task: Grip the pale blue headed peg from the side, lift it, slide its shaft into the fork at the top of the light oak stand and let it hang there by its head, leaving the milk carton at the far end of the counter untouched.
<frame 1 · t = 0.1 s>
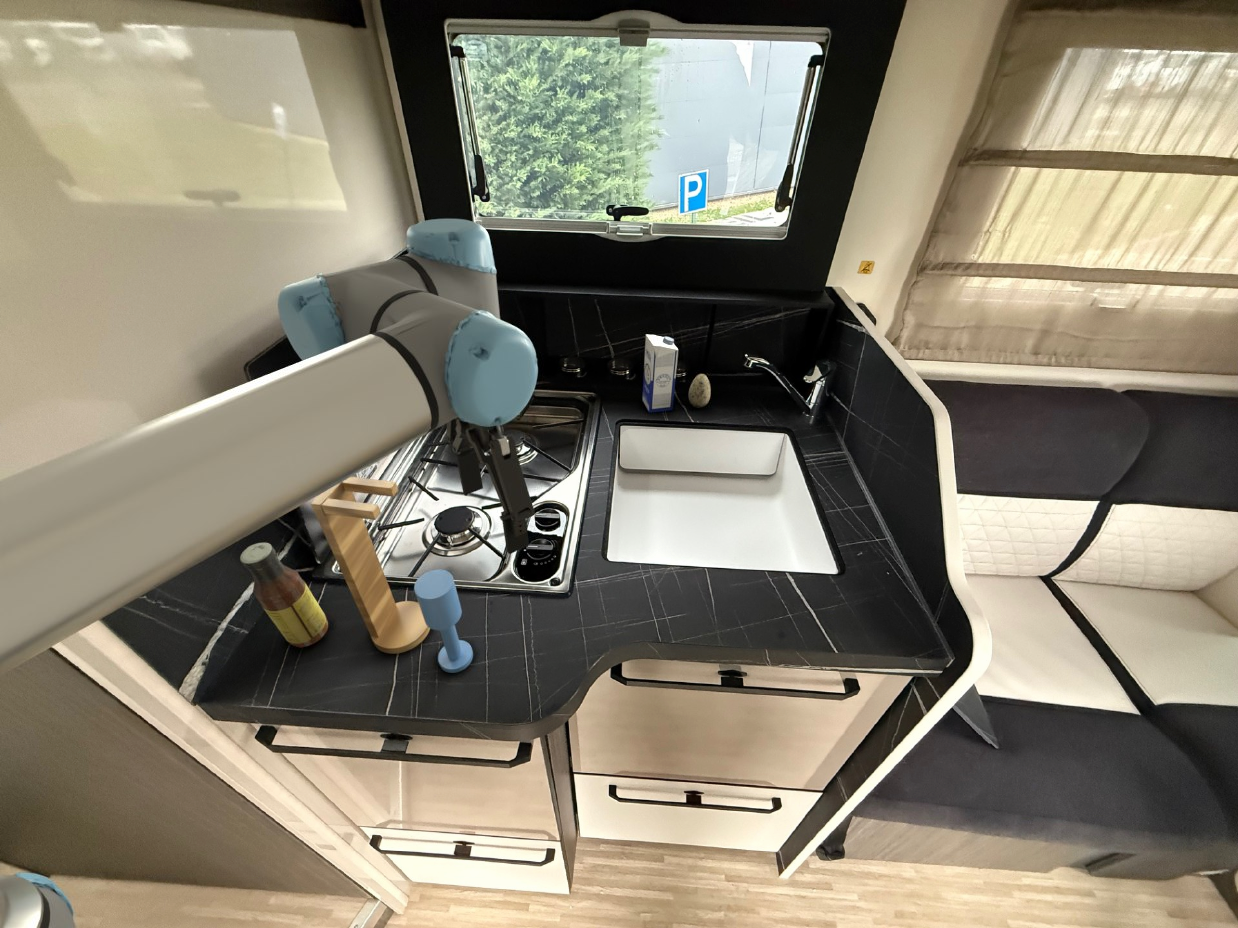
hand: (494, 517, 70), 27 cm above the worktop, tool pointing down, fingers open, 13 cm apart
decorative egg: (697, 407, 145), on the worktop
milk carton: (657, 405, 146), on the worktop
stand: (407, 629, 86), on the worktop
sauce bottle: (308, 634, 86), on the worktop
peg: (456, 657, 82), on the worktop
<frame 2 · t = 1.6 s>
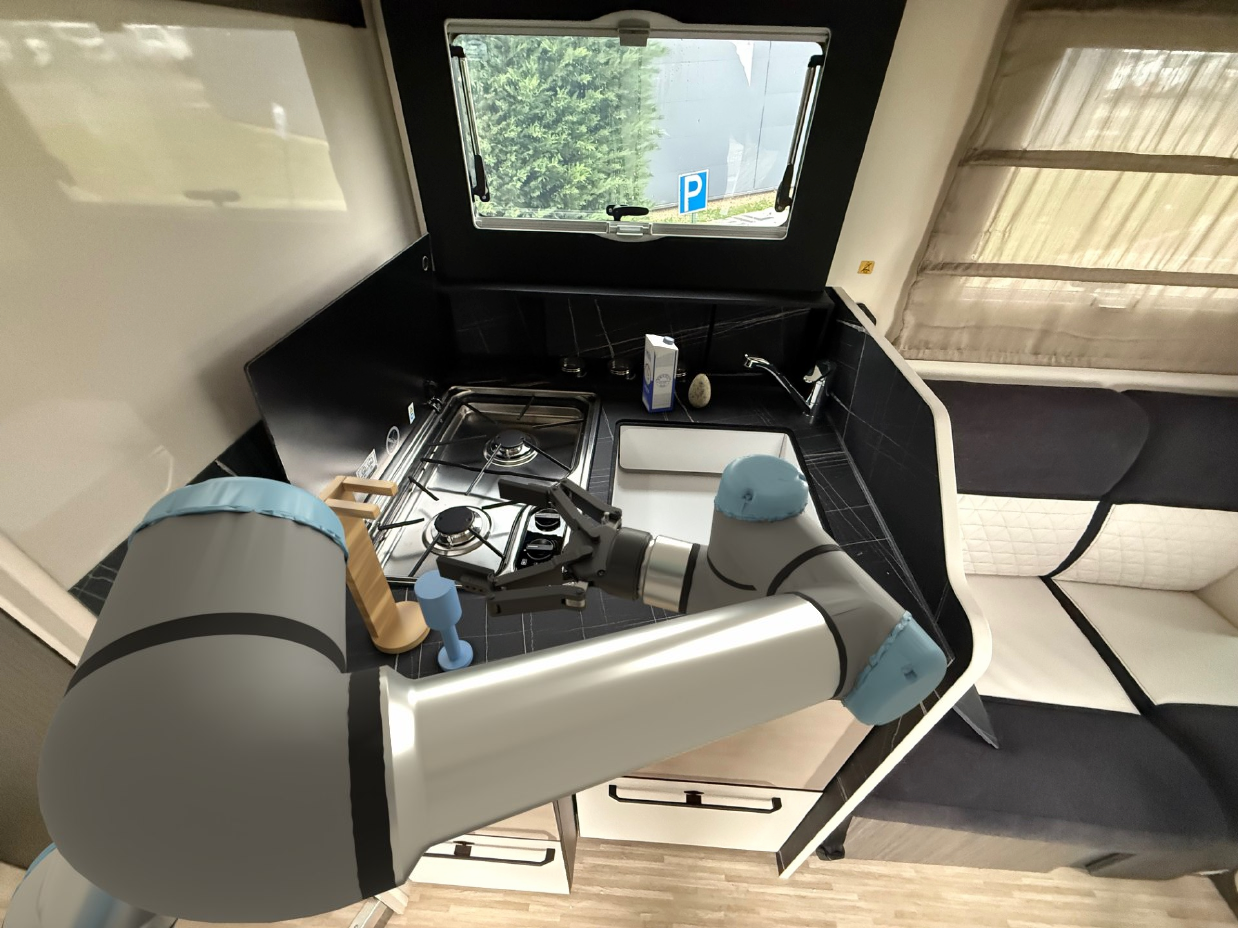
hand: (472, 523, 61), 32 cm above the worktop, tool horizontal, fingers open, 13 cm apart
nothing on the worktop moved.
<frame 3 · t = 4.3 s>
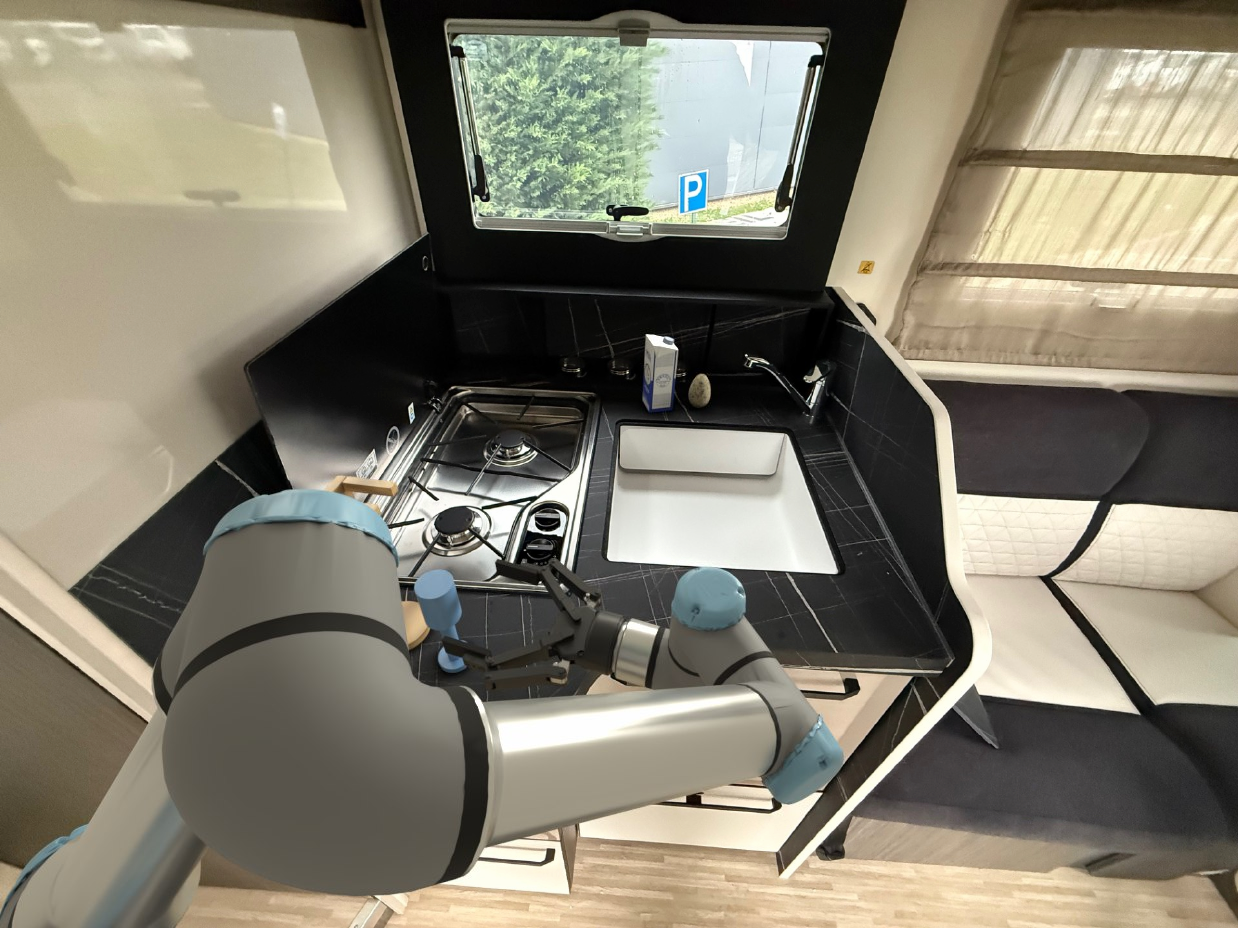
hand: (472, 602, 71), 16 cm above the worktop, tool horizontal, fingers open, 13 cm apart
nothing on the worktop moved.
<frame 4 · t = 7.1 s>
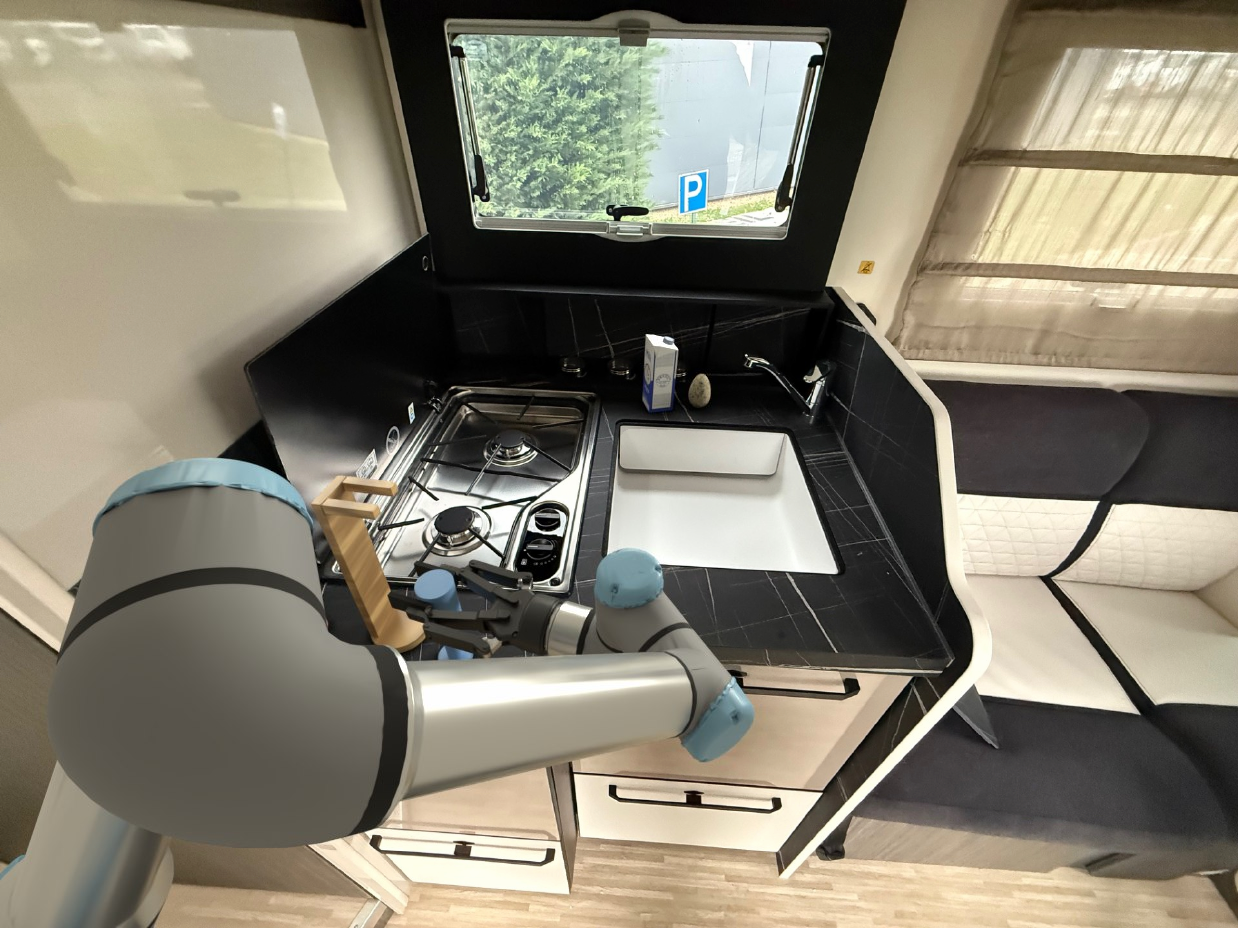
hand: (404, 583, 74), 16 cm above the worktop, tool horizontal, fingers closed on peg, 5 cm apart
peg: (456, 657, 82), on the worktop, touching gripper
everything else where it was.
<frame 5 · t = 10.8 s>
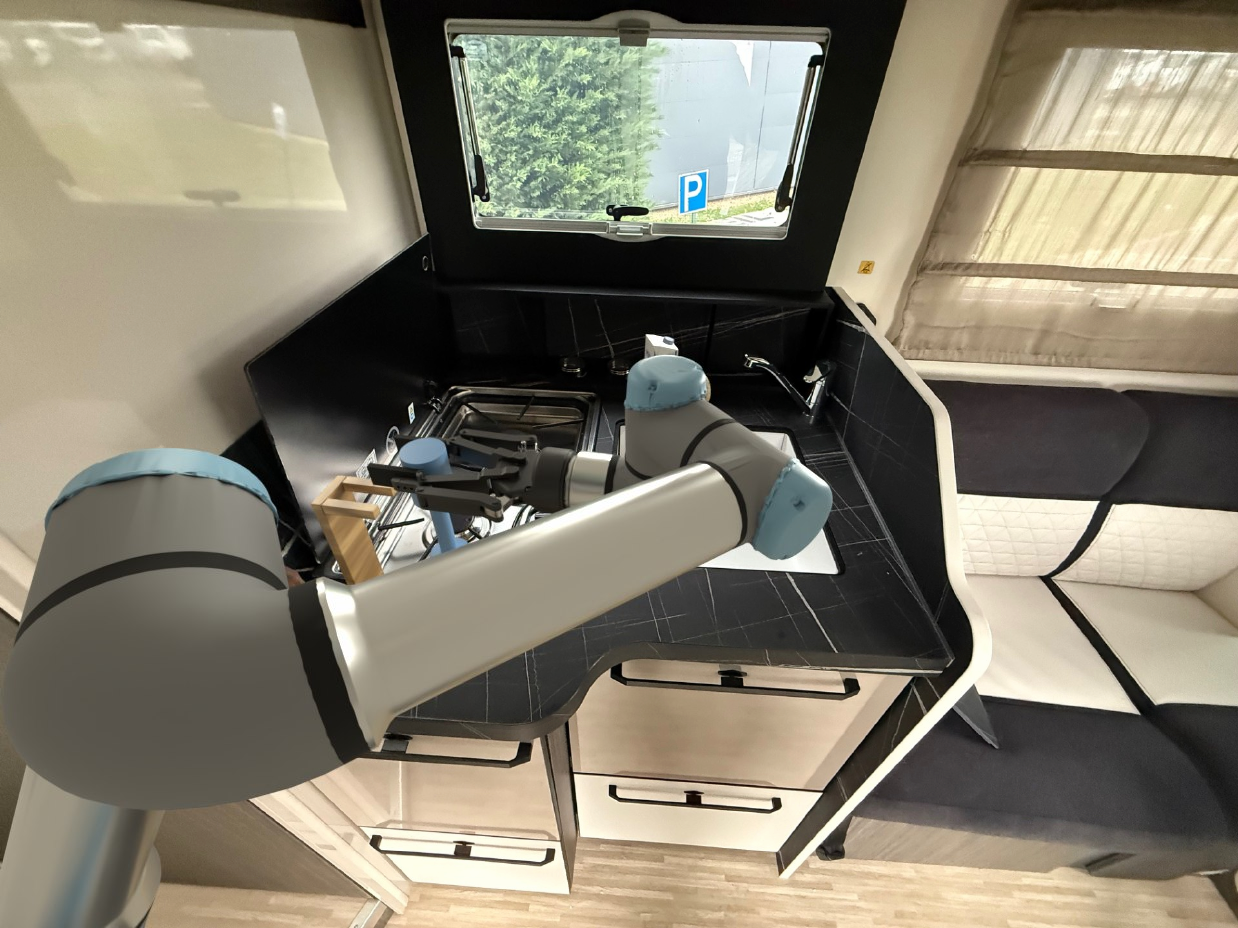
hand: (385, 458, 62), 37 cm above the worktop, tool horizontal, fingers closed on peg, 5 cm apart
peg: (451, 555, 71), point 21 cm above the worktop, touching gripper
everything else where it was.
when the fingers open (35 cm above the worktop, at t = 14.8 s): peg stays where it is, resting on stand.
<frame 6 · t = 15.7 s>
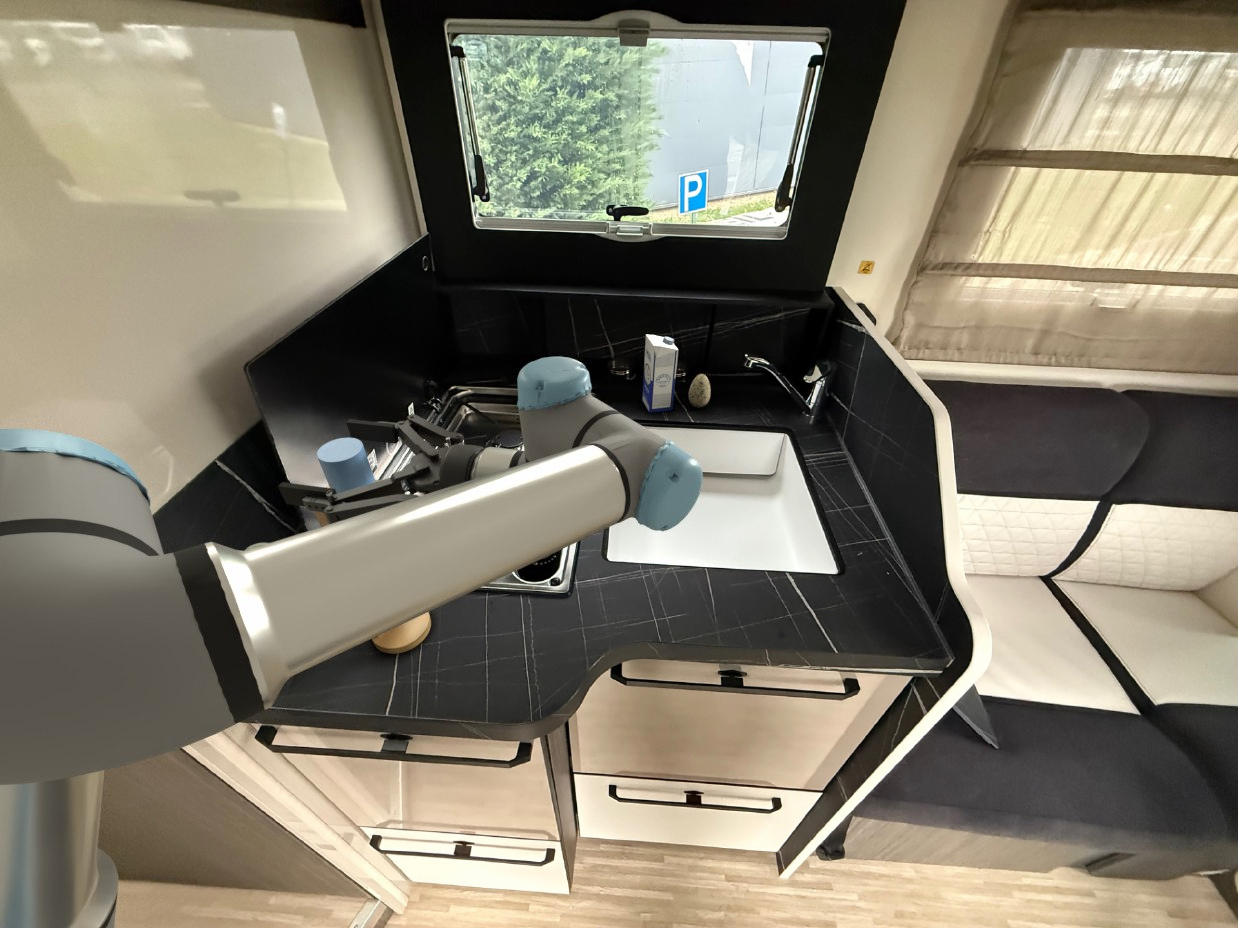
hand: (319, 458, 65), 35 cm above the worktop, tool horizontal, fingers open, 13 cm apart
peg: (378, 550, 75), point 19 cm above the worktop, touching stand
everything else where it was.
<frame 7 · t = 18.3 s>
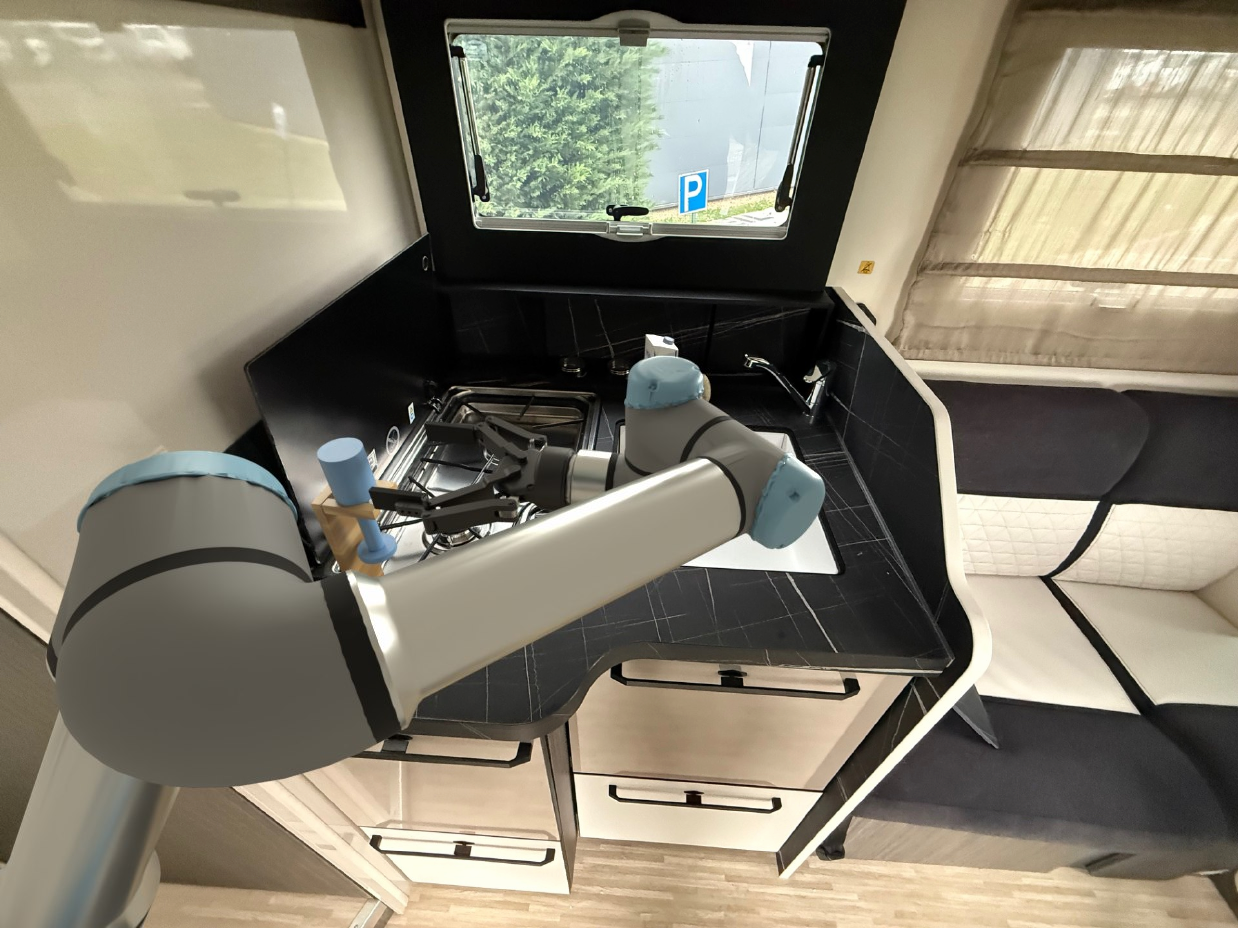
hand: (402, 461, 63), 36 cm above the worktop, tool horizontal, fingers open, 13 cm apart
nothing on the worktop moved.
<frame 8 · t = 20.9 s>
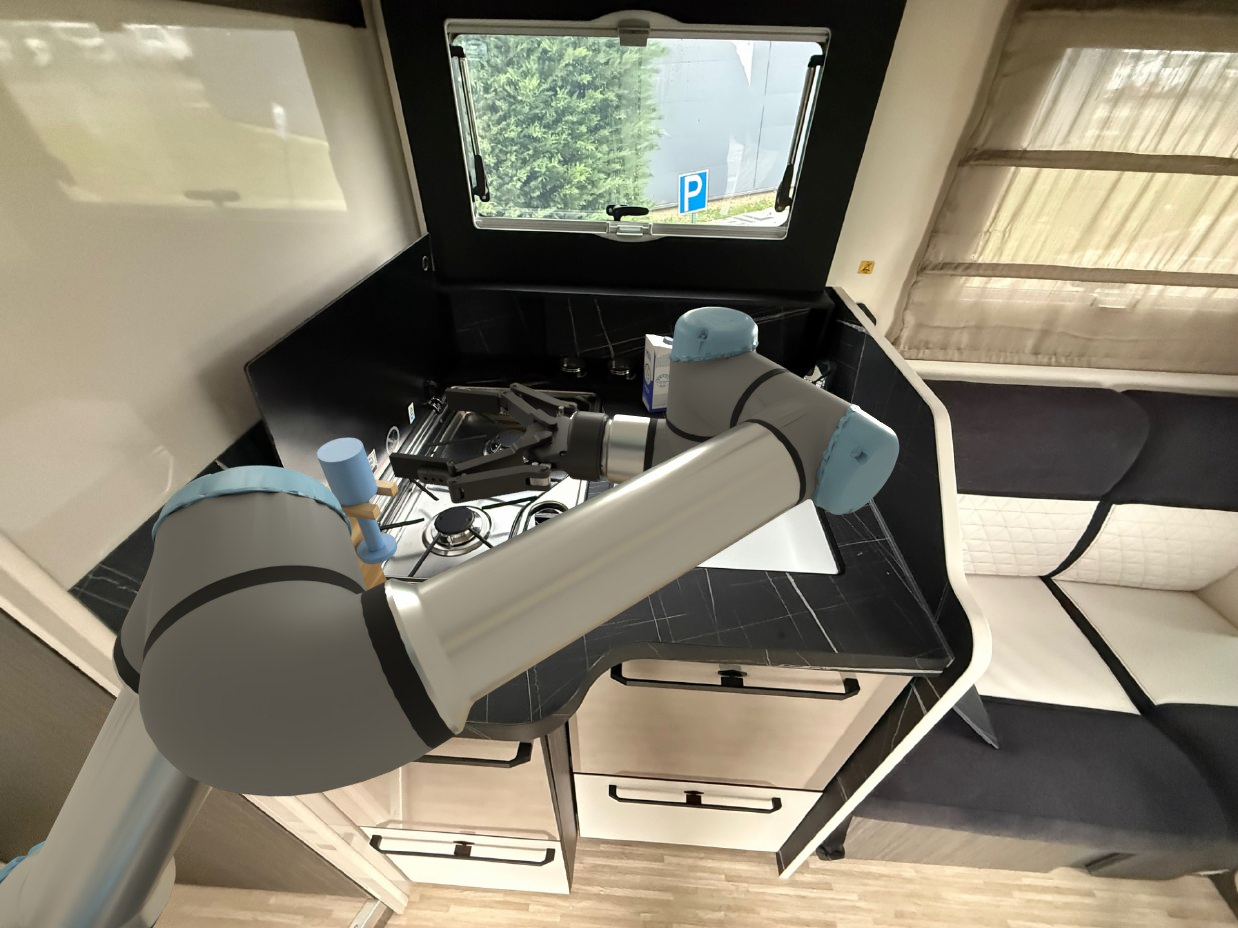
hand: (422, 428, 59), 42 cm above the worktop, tool horizontal, fingers open, 13 cm apart
nothing on the worktop moved.
at the end: peg 0.0 cm off-centre on the stand, point 19.0 cm above the stand's base; peg touching stand; milk carton moved 0.2 cm from its start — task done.
